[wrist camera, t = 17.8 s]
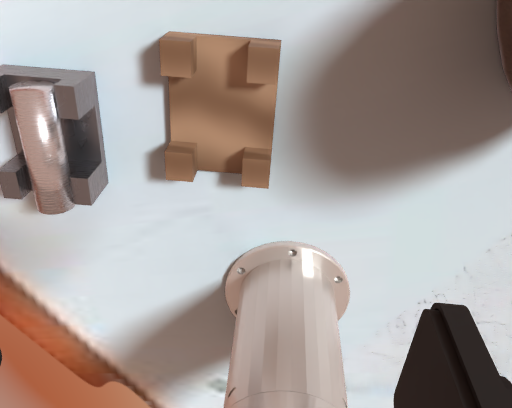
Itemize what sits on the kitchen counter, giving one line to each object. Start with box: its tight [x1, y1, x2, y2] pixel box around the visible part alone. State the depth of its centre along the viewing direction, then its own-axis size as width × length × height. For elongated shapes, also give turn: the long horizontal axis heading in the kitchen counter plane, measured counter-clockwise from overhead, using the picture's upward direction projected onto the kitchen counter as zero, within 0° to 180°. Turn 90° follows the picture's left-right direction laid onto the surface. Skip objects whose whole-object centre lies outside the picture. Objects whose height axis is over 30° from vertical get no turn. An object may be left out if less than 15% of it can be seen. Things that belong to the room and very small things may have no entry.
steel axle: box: [9, 80, 75, 214], centre depth 35 cm, size 10×3×3 cm, turn 177°
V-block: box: [0, 65, 108, 206], centre depth 37 cm, size 10×7×4 cm
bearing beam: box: [159, 31, 281, 188], centre depth 35 cm, size 11×8×3 cm
